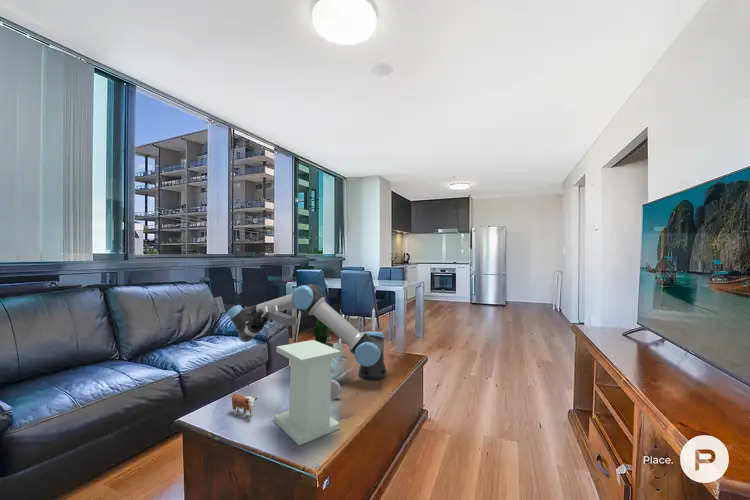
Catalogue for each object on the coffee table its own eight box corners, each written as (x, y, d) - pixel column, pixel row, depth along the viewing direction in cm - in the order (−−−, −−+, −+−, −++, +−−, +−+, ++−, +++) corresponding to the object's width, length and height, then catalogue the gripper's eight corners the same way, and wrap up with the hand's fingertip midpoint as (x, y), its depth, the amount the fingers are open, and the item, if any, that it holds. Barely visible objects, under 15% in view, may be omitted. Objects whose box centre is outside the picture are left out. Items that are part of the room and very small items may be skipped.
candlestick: (382, 362, 185) (383, 304, 186) (364, 362, 184) (365, 304, 185) (380, 356, 196) (381, 302, 197) (363, 357, 195) (364, 302, 196)
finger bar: (259, 314, 147) (259, 308, 147) (268, 314, 150) (268, 307, 150) (286, 325, 124) (287, 318, 124) (297, 324, 127) (297, 317, 127)
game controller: (341, 398, 136) (341, 379, 136) (339, 400, 134) (339, 381, 134) (300, 393, 140) (300, 375, 140) (298, 396, 138) (298, 377, 138)
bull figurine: (249, 422, 114) (250, 400, 115) (228, 412, 121) (229, 392, 122) (259, 417, 118) (260, 396, 118) (238, 408, 125) (239, 388, 125)
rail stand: (274, 420, 116) (276, 346, 117) (311, 408, 126) (313, 339, 127) (299, 445, 101) (301, 359, 102) (339, 428, 111) (341, 351, 112)
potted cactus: (307, 367, 174) (309, 314, 175) (334, 367, 175) (336, 314, 176) (302, 377, 159) (303, 319, 160) (332, 377, 159) (333, 320, 160)
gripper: (272, 331, 160) (290, 314, 145) (238, 335, 148) (254, 318, 134) (269, 317, 163) (287, 299, 148) (236, 321, 151) (251, 302, 137)
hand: (271, 308), depth 141 cm, fingers closed on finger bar, 4 cm apart
